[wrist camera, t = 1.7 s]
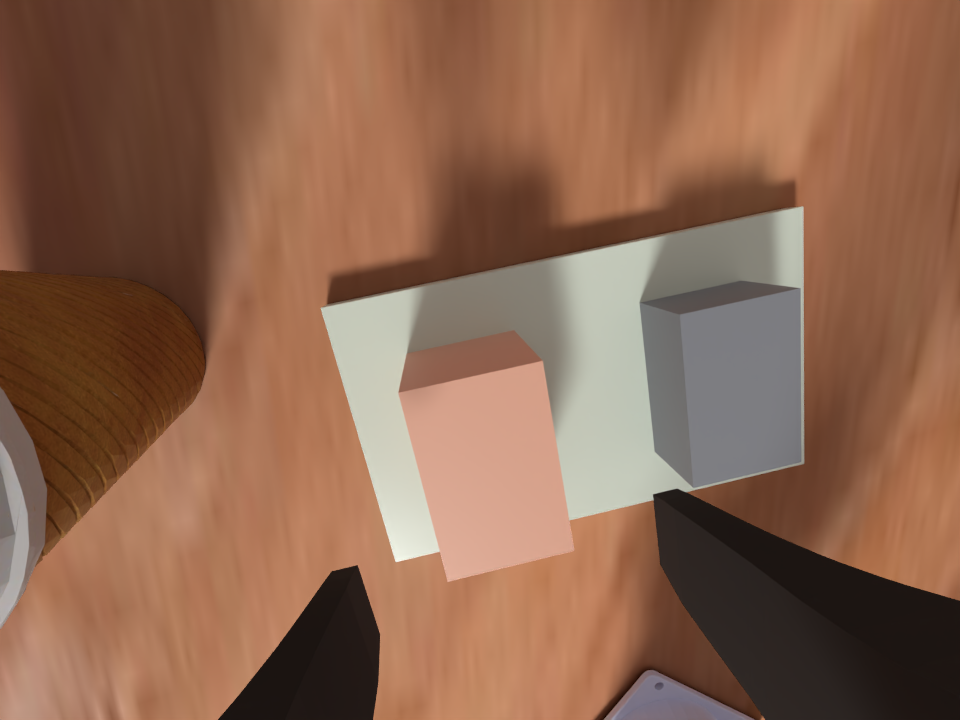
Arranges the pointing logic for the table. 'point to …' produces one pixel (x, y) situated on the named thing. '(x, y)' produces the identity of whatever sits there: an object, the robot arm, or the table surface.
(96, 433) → the disposable coffee cup
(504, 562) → the terracotta brick
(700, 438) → the charcoal brick
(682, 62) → the table surface
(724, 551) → the robot arm
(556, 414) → the baseplate
